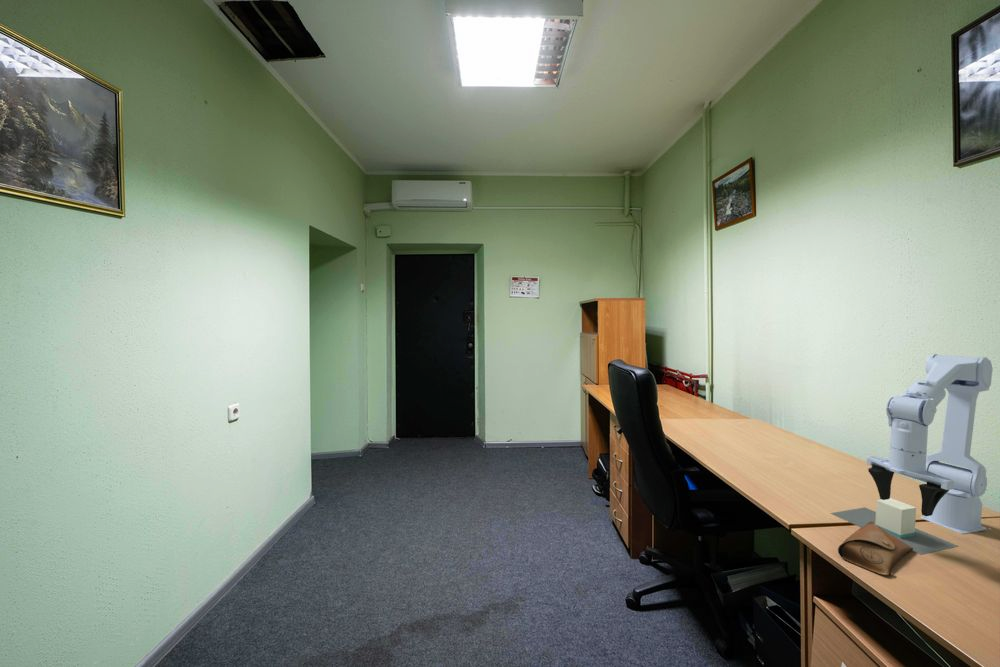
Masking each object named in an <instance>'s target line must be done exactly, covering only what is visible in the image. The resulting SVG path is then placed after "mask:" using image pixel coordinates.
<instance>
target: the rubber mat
mask: <svg viewBox="0 0 1000 667" xmlns="http://www.w3.org/2000/svg"><path fill="white" fill-rule="evenodd" d="M830 514H831V515H833V516H835V517H837V518H839V519H842V520H844V521H847V522H848V523H850V524H852V525H854V526H857V527H858V528H861V527H863V526H865V525H867V524H868V523H869V522H871V521H873V522H874V523H875V521H876V510H872V509H869V508H867V507H865V506H864V507H859V508H853V509H847V510H846V509H845V510H843V511H842V510H841V511H836V512H831V513H830ZM893 536H894V535H893ZM894 537H896V536H894ZM896 538H897V539H899V540H900V541H902V542H904V543H905V544H907V545H909V546H910V547H912V548H914V549H913V550H912V552H913V553H916V554H918V555H921V556H922V555H927V554H930V553H935V552H939V551H944V550H948V549H953V548H957V547H959V545H957V544H955V543H952V542H951V541H949V540H946V539H943V538H940V537H938V536H935V535H933V534H931V533H929V532H925V531H923V530H921V529H919V528H916V527H915V536H910V537H905V538H898V537H896Z"/></svg>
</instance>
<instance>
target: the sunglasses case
mask: <svg viewBox="0 0 1000 667" xmlns="http://www.w3.org/2000/svg"><path fill="white" fill-rule="evenodd" d="M913 549H914V548H912V547H910V546H909V545H907V544H905V543H904V542H902V541H900V540H899V539H897V538H896V537H894V536H893V535H891V534H889V533H888V532H886V531H885V530H883V529H882V528H880V527H879V526H877V525H876V524H875V523H874V522H873V521H871V522H869V523H868V524H867V525H865V526H863V527H859V529H858V530H856V531H855V532H853V533H851V535H849V537H847V538H846V539H844V541H843V542H842V543H841V544H840V545H839V546H838V548H837V553H838V554H839V556H840V557H841V559H842V560H845V562H848V563H851V564H853V565H855V566H858V567H860V568H862V569H865V570H867V571H870V572H873V573H876V574H879V575H882V576H889V575H890V573H891V571H892V568H893V567H894V566H895V565H896V564H897V563H898V562H899V561H900V560H901V559H902V558H904V556H906V555H907V554H909V553H910V552H911V551H912V550H913ZM912 552H913V551H912Z"/></svg>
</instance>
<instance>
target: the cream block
mask: <svg viewBox="0 0 1000 667" xmlns="http://www.w3.org/2000/svg"><path fill="white" fill-rule="evenodd" d="M875 505H876V507H875V512H876V521H875V524H876V525H877V526H879V527H880V528H882V529H883V530H885V531H886V532H888V533H889V534H891V535H894V536H896V537H898V538H905V537H910V536H915V528H916V517H917V516H916V515H917V507H915V506H913V505H910V504H908V503H905V502H902V501H899V500H897V499H895V498H892V497H890V499H886V500H882V499H876V504H875Z"/></svg>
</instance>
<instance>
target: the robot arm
mask: <svg viewBox="0 0 1000 667" xmlns="http://www.w3.org/2000/svg"><path fill="white" fill-rule="evenodd" d="M925 372H926V376H925V377H924V378H923V379H919V380H916V381H913V383H912V384H911V385H910V386H908V388H907V389H906V390H905V391H904V392H902V394H901V395H895V396H891V397H890V398H889V399H888V401H887V403H886V404H887V405H886V416H887V418H888V423H887V424H888V426H889V427H890V442H889V443H890V444H889V446H890V447H889V459H887V458H886V459H884V458H881V457H877V456H873V455H872V456H866V465H868V466H871V467H869V468H868V469H867V471H868V473H869V474H870V475H871V477H872V479H873V481H874V482H875V486H876V488H877V492H878V494H879V500H881V499H882V500H886V499H890V498H891V493H892V492H891V488H892V481H893V478H894V475H895V474H899V475H902V476H904V477H905V476H906V477H907V478H908V477H909V478H911V479H913V480H914V479H915V480H917V481H920V482H923V483H922V484H919V485H918V487H919V490H920V496H921V516H920V519H923V520H925V521H928V522H931V523H933V524H935V525H936V526H937V525H938V526H940V527H943V528H946V529H948V530H950V531H954V532H956V533H958V534H962V535H966V534H971V533H974V532H975V533H977V532H981V531H986V530H987V528H986V527H985V526H982V513H983V502H982V500H981V498H980V497H982V496H983V495H985V493H986V490H987V485H988V478H987V469H986V466H984V465H983V464H982V463H981V462H979V461H978V460H977V459H975V458H974V457H973V456H971V449H972V442H973V432H974V424H975V417H976V416H975V414H976V408H977V399H978V397H979V394H980V393H981V392H987V391H990V387H991V384H992V377H993V365H992V362H991V360H990V359H989V358H988V357H986V356H985V357H984V356H983V357H978V356H977V357H975V356H962V355H961V356H959V355H949V354H948V355H947V354H946V355H945V354H944V355H943V354H936V353H932V354H930V356H928V357H927V359H926V361H925ZM945 389H946V390H945ZM946 391H947V393H946ZM946 395H947V398H946ZM945 398H946V399H947V400H946V407H945V408H946V409H945V417H944V418H945V419H944V426H943V433H942V442H941V450H939V451H936V452H932V453H929V454H927V451H928V450H927V449H928V435H929V434H928V433H929V426H930V425H931V424H932V423H933V421H934V419H935V415H936V413H937V411H938V410H937V407H938V405H939V404H940V403H941V402H942V401H943V400H944V399H945Z"/></svg>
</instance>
